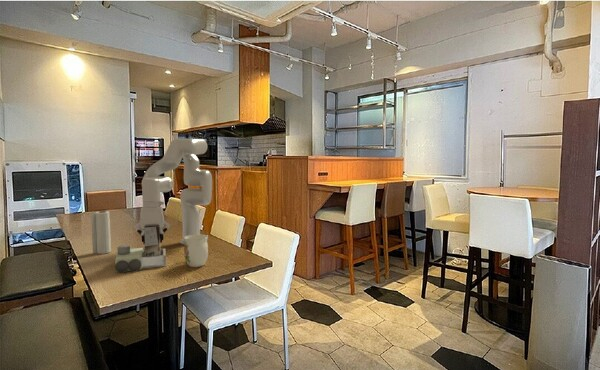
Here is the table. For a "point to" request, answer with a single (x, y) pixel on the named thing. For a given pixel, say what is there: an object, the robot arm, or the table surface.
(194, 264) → the pitcher
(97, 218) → the grey tall block
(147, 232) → the coffee box
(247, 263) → the table surface
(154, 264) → the grey open drawer
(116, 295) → the table surface
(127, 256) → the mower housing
